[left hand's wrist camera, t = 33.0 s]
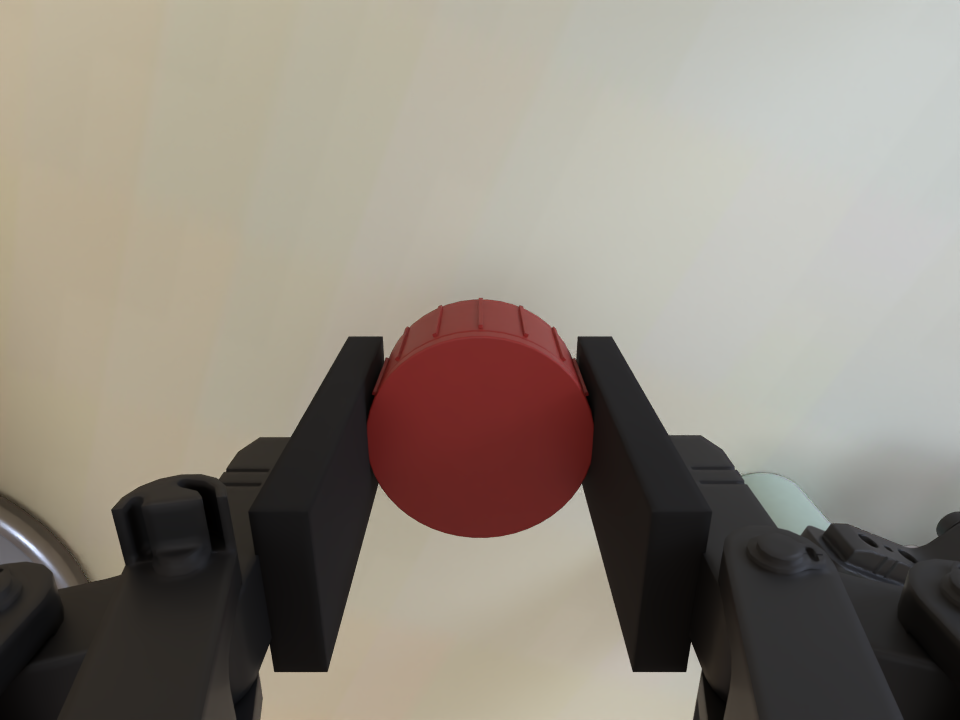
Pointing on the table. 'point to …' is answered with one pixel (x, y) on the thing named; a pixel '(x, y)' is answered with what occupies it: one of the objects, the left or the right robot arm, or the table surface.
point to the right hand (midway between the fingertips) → (766, 612)
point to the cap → (480, 421)
